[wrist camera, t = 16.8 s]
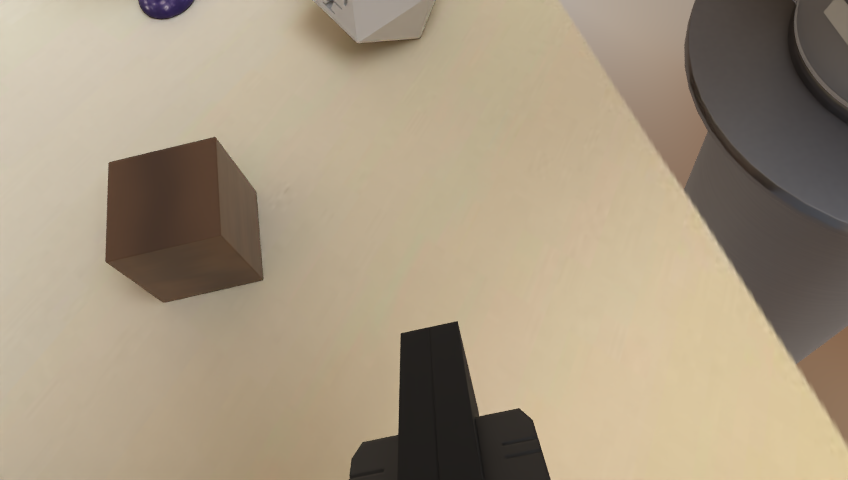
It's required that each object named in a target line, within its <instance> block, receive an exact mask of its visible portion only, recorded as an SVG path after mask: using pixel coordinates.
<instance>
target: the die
mask: <svg viewBox="0 0 848 480" xmlns="http://www.w3.org/2000/svg"><path fill="white" fill-rule="evenodd" d="M313 1H314V2H315V3H316V4H317V5H318V6H319V7H320V8H321V9H322V10H323V11H324V12H325V13H327V14H328V15H329V16H330V17H331V18H332V19H333V20H334V21H335V22H336V23H337V24H338V25H339V26H340V27H341V28H342V29H343V30H344V31H345V32H346V33H347V34H348V35H349V36H350V37H352V38H353V39H354V40H355V41H356V42H357V43H366V42H379V41H391V40H404V39H416V38H420V37H421V35H422V32H423V30H424V27H425V25H426V22H427V20H428V18H429V15H430V13H431V10H432V8H433V5H434V3H435V0H313Z"/></svg>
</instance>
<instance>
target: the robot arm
mask: <svg viewBox="0 0 848 480" xmlns="http://www.w3.org/2000/svg"><path fill="white" fill-rule="evenodd" d="M788 46H789V51H790V56H791V59H792V61H793V64H794V67H795V69H796V71H797V73H798V75H799V77H800V78H801V80H802V81H803V83H804V85H805V86H806V87H807V89H808V90H809V91H810V92H811V94H812V95H813V96H814V97H815V98H816V99H817V100H818V101H819V102H820V103H821V104H822V105H823V106H824V107H825V108H827V109H828V110H829V111H830V112H831V113H833V114H834V115H835V116H837V117H838V118H839V119H841V120H842V121H844V122H845V123H847V124H848V0H798V1H797V3H796V5H795V7H794V9H793V12H792V15H791V18H790V22H789V27H788ZM349 480H551V479H550V476H549V473H548V470H547V466H546V463H545V460H544V456H543V453H542V450H541V446H540V443H539V440H538V437H537V433H536V430H535V426H534V423H533V420H532V419H531V418H530V417H529V416H527V415H526V414H525V413H524V412H523V411H522V410H521V409H519V408H518V409H513V410H509V411H504V412H499V413H494V414H489V415H484V416H480V417H479V412H478V407H477V403H476V399H475V395H474V390H473V386H472V382H471V377H470V373H469V369H468V364H467V360H466V356H465V351H464V347H463V343H462V339H461V334H460V330H459V326H458V321H456V322H452V323H447V324H442V325H438V326H433V327H428V328H424V329H419V330H414V331H410V332H405V333H401V347H400V389H399V431H398V435H396V436H391V437H386V438H381V439H376V440H371V441H367V442H363V443H362V444H361V446H360V447H359V449H358V450H357V452H356V453H355V455H354V456H353V458H352V460H351V468H350V479H349Z"/></svg>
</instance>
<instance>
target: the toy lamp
mask: <svg viewBox="0 0 848 480" xmlns="http://www.w3.org/2000/svg"><path fill="white" fill-rule="evenodd" d="M138 1H139V4H140V7H141V9H142V10H143V11H144V13H146V14H147V15H148V16H150V17H153V18H157V19H164V18H171V17H173V16H176V15H178V14H180V13H182V12H183V11H185V10H186V9H187V8H188V7H189V6H190V5H191V4H192V2H193V0H138Z"/></svg>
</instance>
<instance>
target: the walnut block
mask: <svg viewBox="0 0 848 480" xmlns="http://www.w3.org/2000/svg"><path fill="white" fill-rule="evenodd" d="M105 261H106V263H108V264H109V265H111V266H112V267H114V268H115V269H116V270H118V271H119V272H121V273H122V274H123V275H125V276H126V277H128V278H129V279H131V280H132V281H133V282H135V283H136V284H138V285H139V286H141V287H142V288H143V289H145V290H146V291H148V292H149V293H151V294H152V295H153V296H155V297H156V298H158V299H159V300H160V301H162V302H169V301H173V300H177V299H182V298H186V297H190V296H195V295H199V294H204V293H208V292H212V291H217V290H221V289H226V288H230V287H234V286H239V285H243V284H247V283H252V282H256V281H261V280H263V270H262V258H261V245H260V233H259V221H258V208H257V196H256V191H255V189H254V188H253V187H252V185H251V184H250V183H249V181H248V180H247V179H246V177H245V176H244V175H243V173H242V172H241V171H240V169H239V168H238V167H237V165H236V164H235V163H234V161H233V160H232V159H231V157H230V156H229V154H228V153H227V152H226V150H225V149H224V148H223V146H222V145H221V144H220V142H219V141H218V140H217V138H216V137H213V138H209V139H204V140H200V141H196V142H192V143H188V144H184V145H179V146H175V147H171V148H167V149H163V150H159V151H154V152H150V153H146V154H142V155H138V156H133V157H129V158H125V159H121V160H117V161H113V162H109V168H108V198H107V229H106V259H105Z"/></svg>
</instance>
